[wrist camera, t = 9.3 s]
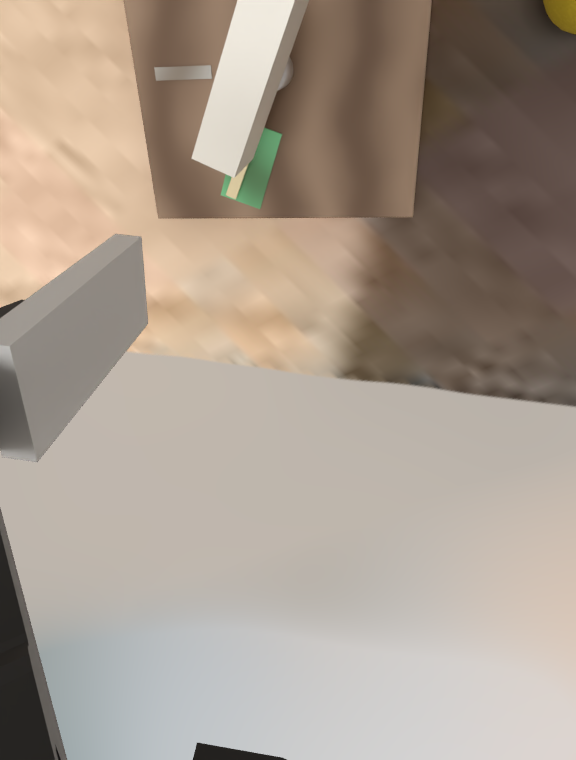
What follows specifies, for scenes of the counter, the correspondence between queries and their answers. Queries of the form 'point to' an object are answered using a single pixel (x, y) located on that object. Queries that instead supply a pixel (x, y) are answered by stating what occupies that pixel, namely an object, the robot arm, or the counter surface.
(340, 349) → the counter surface
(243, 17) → the white stand
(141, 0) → the wooden cutting board
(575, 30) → the lemon
